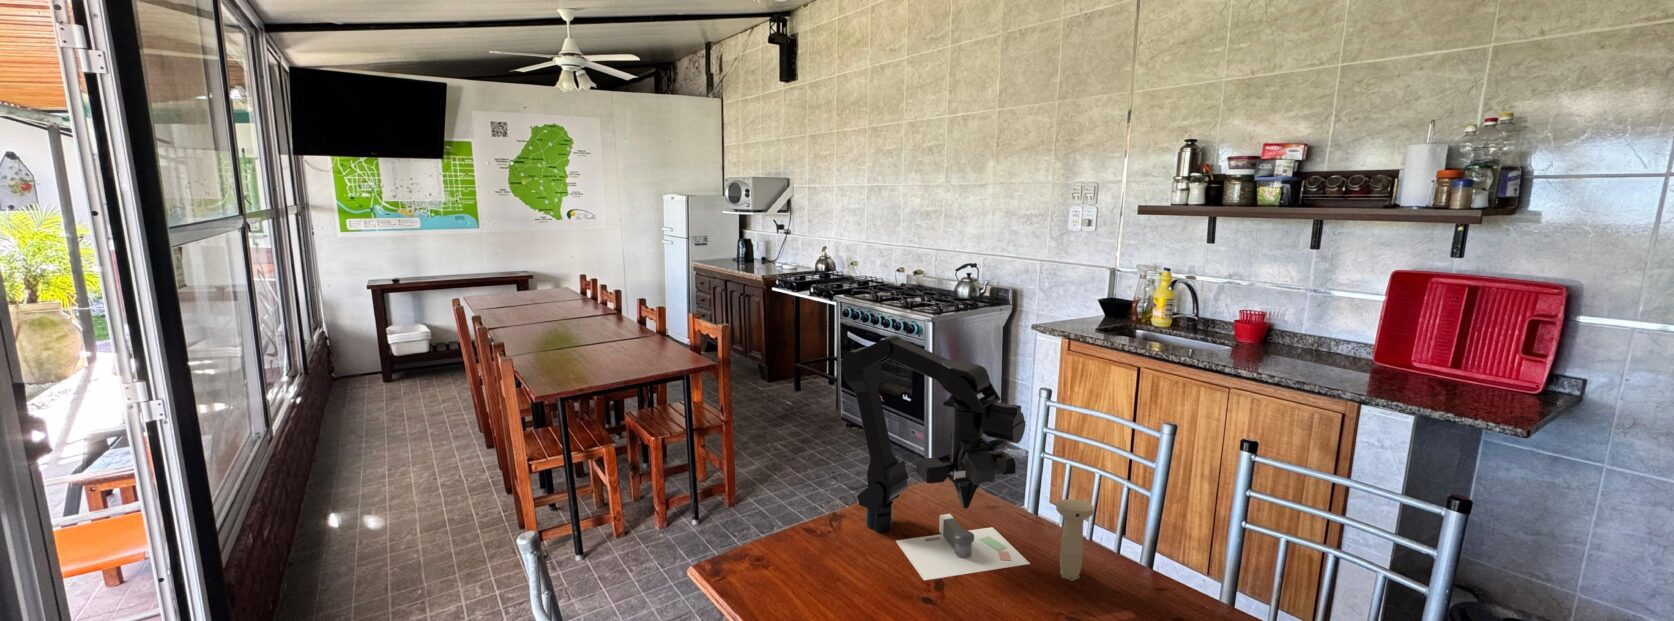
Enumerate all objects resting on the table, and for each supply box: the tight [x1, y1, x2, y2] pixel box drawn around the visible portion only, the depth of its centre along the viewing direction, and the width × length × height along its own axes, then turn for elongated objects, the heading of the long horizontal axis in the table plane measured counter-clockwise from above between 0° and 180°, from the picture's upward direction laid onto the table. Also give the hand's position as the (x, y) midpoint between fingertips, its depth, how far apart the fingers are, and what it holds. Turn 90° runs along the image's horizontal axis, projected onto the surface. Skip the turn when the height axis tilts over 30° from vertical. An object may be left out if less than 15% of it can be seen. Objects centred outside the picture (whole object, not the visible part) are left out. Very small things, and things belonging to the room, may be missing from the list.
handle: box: [1055, 498, 1094, 581], centre depth 128 cm, size 5×6×15 cm
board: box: [895, 526, 1031, 581], centre depth 137 cm, size 15×22×1 cm
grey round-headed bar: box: [938, 513, 974, 557], centre depth 139 cm, size 11×4×4 cm, turn 16°
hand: (965, 507), depth 134 cm, fingers closed
